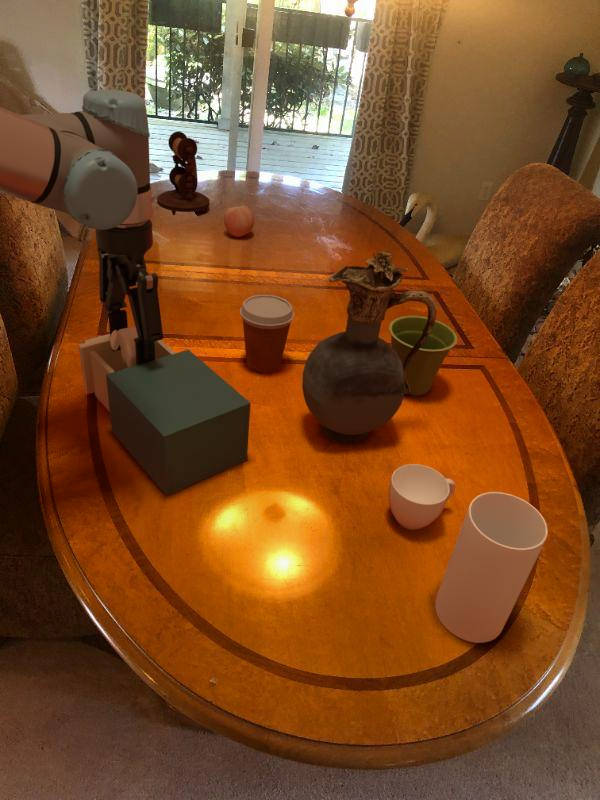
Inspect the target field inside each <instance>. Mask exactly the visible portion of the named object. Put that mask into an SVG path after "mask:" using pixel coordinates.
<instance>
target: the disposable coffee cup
mask: <svg viewBox="0 0 600 800" xmlns="http://www.w3.org/2000/svg"><path fill="white" fill-rule="evenodd" d="M239 313H240V317H241V319H242V327H243V339H244V350H245V351H244V352H245V361H246V366H247V367H248V369H250V370H251V371H254V372H256V373H261V374H269V373H273V372H276V371H277V370H279V369H280V368H281V364H282V361H283V356H284V353H285V349H286V344H287V339H288V336H289V331H290V327H291V324H292V322H293V320H294V318H295V311H294V309H293V305H292V303H290V301H288V299H285V298H283V297H281V296H278V295H272V294H256V295H252V296H249V297H247V298H246V299H244V301H243V303H242V305H241V307H240V308H239Z"/></svg>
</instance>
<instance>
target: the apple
mask: <svg viewBox="0 0 600 800" xmlns="http://www.w3.org/2000/svg"><path fill="white" fill-rule="evenodd" d="M223 225H224V227H225V230H227V232H228V233H229V234H230V235H231V236H233V237H235V238H238V237H239V238H240V237H241V238H242V237H243V236H246V235H247V234H249V233H251V231H252V230H253V228H254V225H255V217H254V213H253V211H252V210H251V208H250V207H248V206H247V205H244V204H243V205H237V206H231V207H228V208H227V209H226V210H225V211H224V215H223Z"/></svg>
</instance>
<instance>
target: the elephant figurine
mask: <svg viewBox="0 0 600 800" xmlns="http://www.w3.org/2000/svg"><path fill="white" fill-rule="evenodd" d="M135 338H138V335H137V331H136V327H135V326H130V327H129V326H128V328H124V329H120V330H118V331H117V330H114V331H113V332H112V334H111V337H110V344H111V347H112V349H113V350H117V348H118V346H120V348H121V352H122V357H123V361H124V362H125V363H127V366H128V368H129V367H132V366H136V365H137V362H136V346H135V342H134V339H135Z"/></svg>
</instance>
